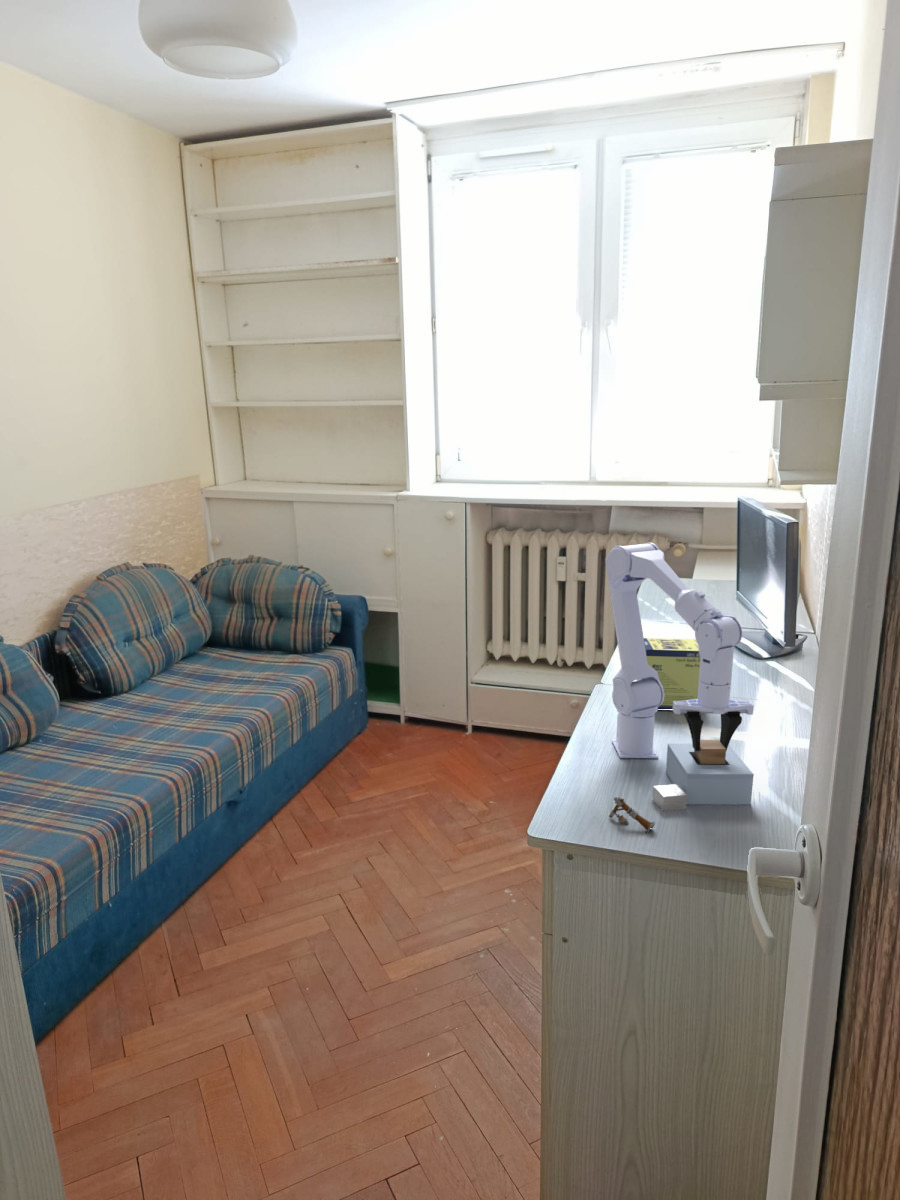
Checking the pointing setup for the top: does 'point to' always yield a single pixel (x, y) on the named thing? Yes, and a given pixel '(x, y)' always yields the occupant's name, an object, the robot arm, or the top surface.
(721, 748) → the brown wooden block
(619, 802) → the wooden post with brackets
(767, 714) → the top surface
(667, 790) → the white square block
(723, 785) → the grey box with hole
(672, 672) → the protein box
